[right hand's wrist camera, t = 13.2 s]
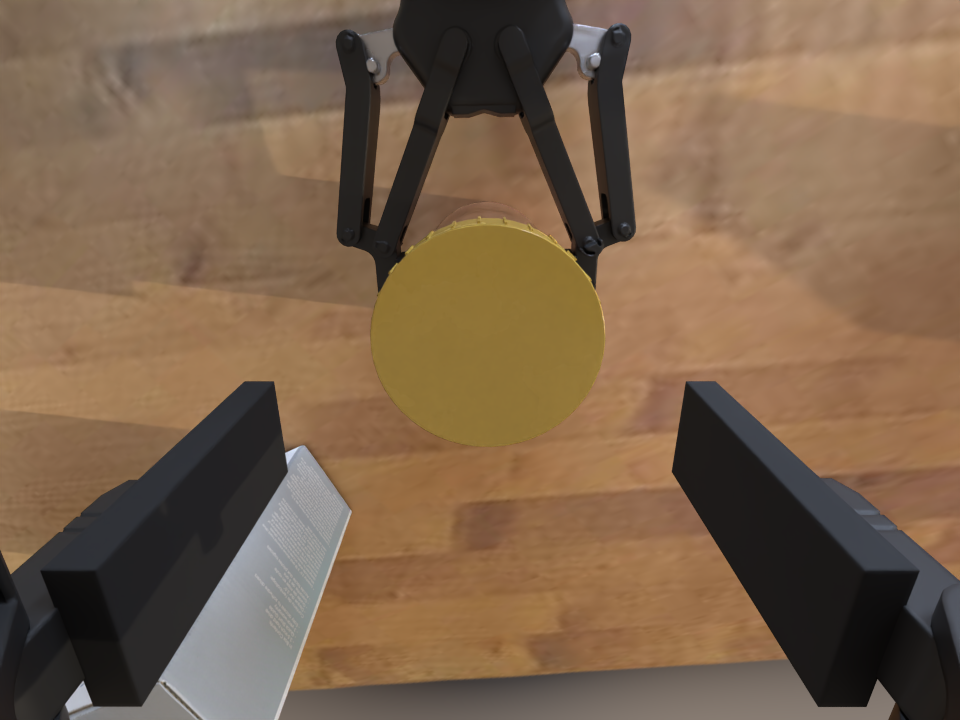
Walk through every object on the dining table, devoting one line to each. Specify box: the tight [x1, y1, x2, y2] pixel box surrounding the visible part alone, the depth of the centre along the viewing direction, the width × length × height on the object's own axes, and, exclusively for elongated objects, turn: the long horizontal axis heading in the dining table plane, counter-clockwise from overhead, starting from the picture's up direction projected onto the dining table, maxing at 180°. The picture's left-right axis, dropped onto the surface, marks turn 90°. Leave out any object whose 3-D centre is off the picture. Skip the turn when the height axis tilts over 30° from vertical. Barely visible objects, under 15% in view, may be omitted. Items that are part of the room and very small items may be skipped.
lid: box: [370, 216, 605, 447], centre depth 21 cm, size 9×9×2 cm
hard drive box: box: [65, 446, 352, 720], centre depth 33 cm, size 16×8×20 cm, turn 117°
